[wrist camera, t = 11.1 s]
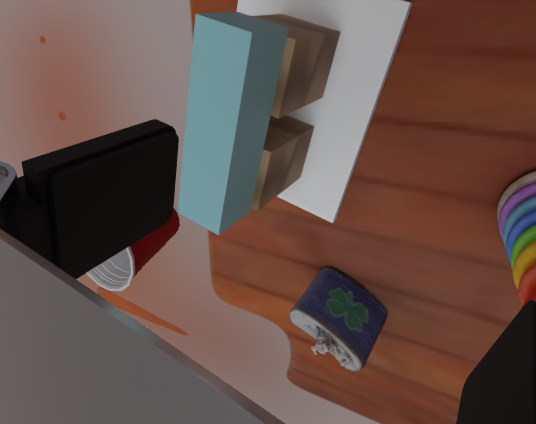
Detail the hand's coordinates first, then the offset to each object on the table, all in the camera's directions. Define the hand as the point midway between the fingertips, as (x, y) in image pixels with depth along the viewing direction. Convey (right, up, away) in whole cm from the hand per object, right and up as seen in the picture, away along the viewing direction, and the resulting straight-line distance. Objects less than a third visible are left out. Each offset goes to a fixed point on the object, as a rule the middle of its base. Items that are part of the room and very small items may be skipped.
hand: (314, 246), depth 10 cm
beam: (-3, +8, +24) cm, 25 cm away
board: (+2, +12, +32) cm, 34 cm away
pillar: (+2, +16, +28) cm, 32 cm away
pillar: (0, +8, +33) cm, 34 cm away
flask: (+9, -8, +38) cm, 40 cm away
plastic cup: (-16, +1, +50) cm, 52 cm away
